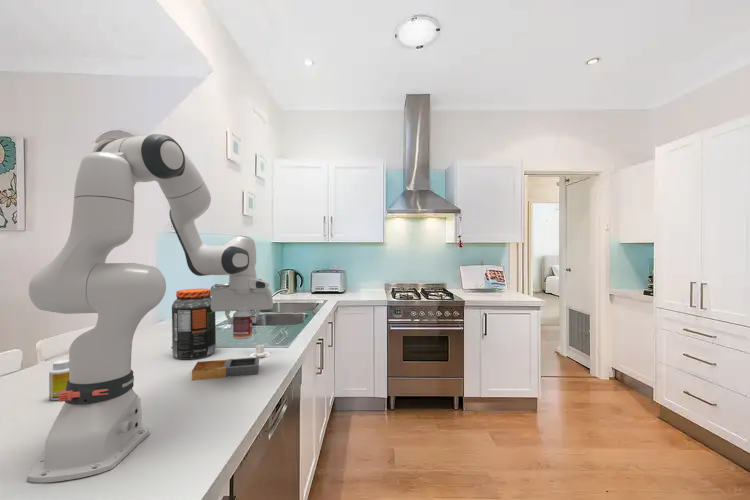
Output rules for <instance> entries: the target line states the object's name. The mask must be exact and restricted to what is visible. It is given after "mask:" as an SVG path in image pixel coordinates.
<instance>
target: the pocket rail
mask: <svg viewBox="0 0 750 500" xmlns="http://www.w3.org/2000/svg"><path fill="white" fill-rule="evenodd" d="M259 369H260V358H259V357H256V356H254V358H253V357H247V358H246V357H243V358H241V357H240V358H229V359H218V360H216V359H215V360H202V361H197V362H196V364H195V365H194V367H193V368H192V370H191V381H200V380H211V379H222V378H234V377H235V378H236V377H246V376H257V375H259Z"/></svg>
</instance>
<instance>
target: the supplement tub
mask: <svg viewBox="0 0 750 500" xmlns="http://www.w3.org/2000/svg"><path fill="white" fill-rule="evenodd" d="M210 289H211V288H188V289H187V288H186V289H180V290H177V291H176V295H175V296H176V299H175V300H174V301H173V302H172V305H171V328H172V329H171V334H172V335H171V338H172V339H171V341H172V344H171V346H172V348H171V349H172V350H171V351H172V356H173V357H174V358H175V359H179V360H194V359H200V358H206V357H208V356H210V355H212V354H214V352H216V349H217V348H216V347H217V344H216V342H217V339H216V336H217V335H216V334H217V333H216V330H217V329H216V312H213V311H212V310H211V300H212V296H211V295H210Z"/></svg>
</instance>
